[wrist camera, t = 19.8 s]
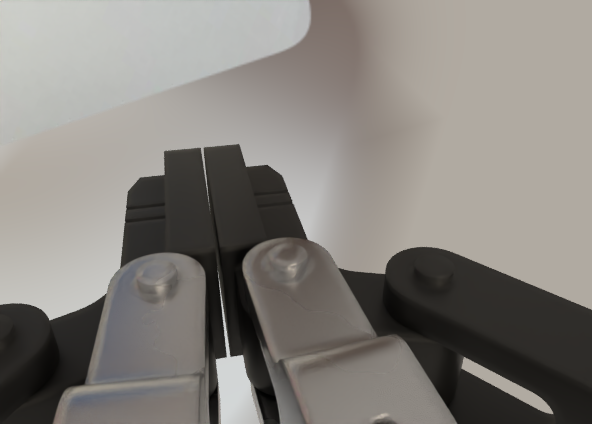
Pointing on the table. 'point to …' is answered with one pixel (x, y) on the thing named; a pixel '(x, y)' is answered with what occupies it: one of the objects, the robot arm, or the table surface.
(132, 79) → the table surface
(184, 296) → the robot arm
